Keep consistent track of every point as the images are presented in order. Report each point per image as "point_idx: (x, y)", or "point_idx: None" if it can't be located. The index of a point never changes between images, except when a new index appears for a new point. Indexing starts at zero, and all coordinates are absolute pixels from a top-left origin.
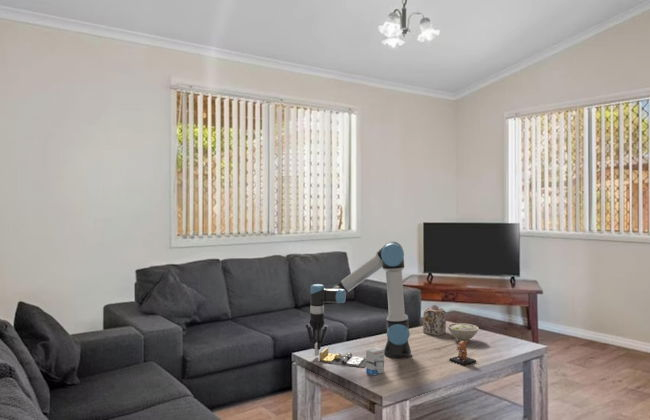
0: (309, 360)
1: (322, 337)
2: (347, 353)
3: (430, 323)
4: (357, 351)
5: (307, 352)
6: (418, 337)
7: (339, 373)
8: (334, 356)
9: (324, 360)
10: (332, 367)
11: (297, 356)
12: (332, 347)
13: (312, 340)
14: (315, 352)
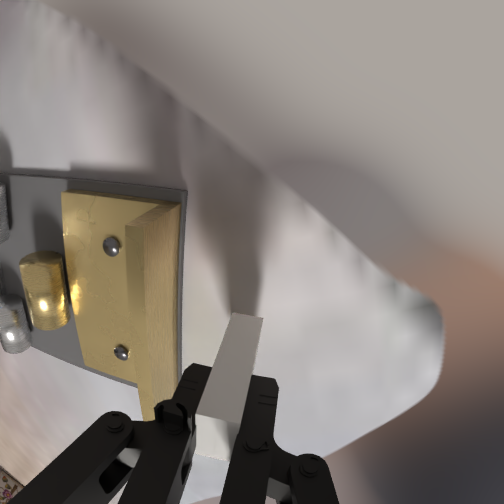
0: (307, 224)
1: (62, 477)
2: (5, 330)
3: (8, 500)
4: (61, 423)
5: (355, 417)
6: (20, 477)
7: (9, 8)
8: (85, 319)
9: (123, 198)
10: (48, 89)
11: (441, 318)
12: (202, 482)
13: (280, 479)
14: (247, 337)
